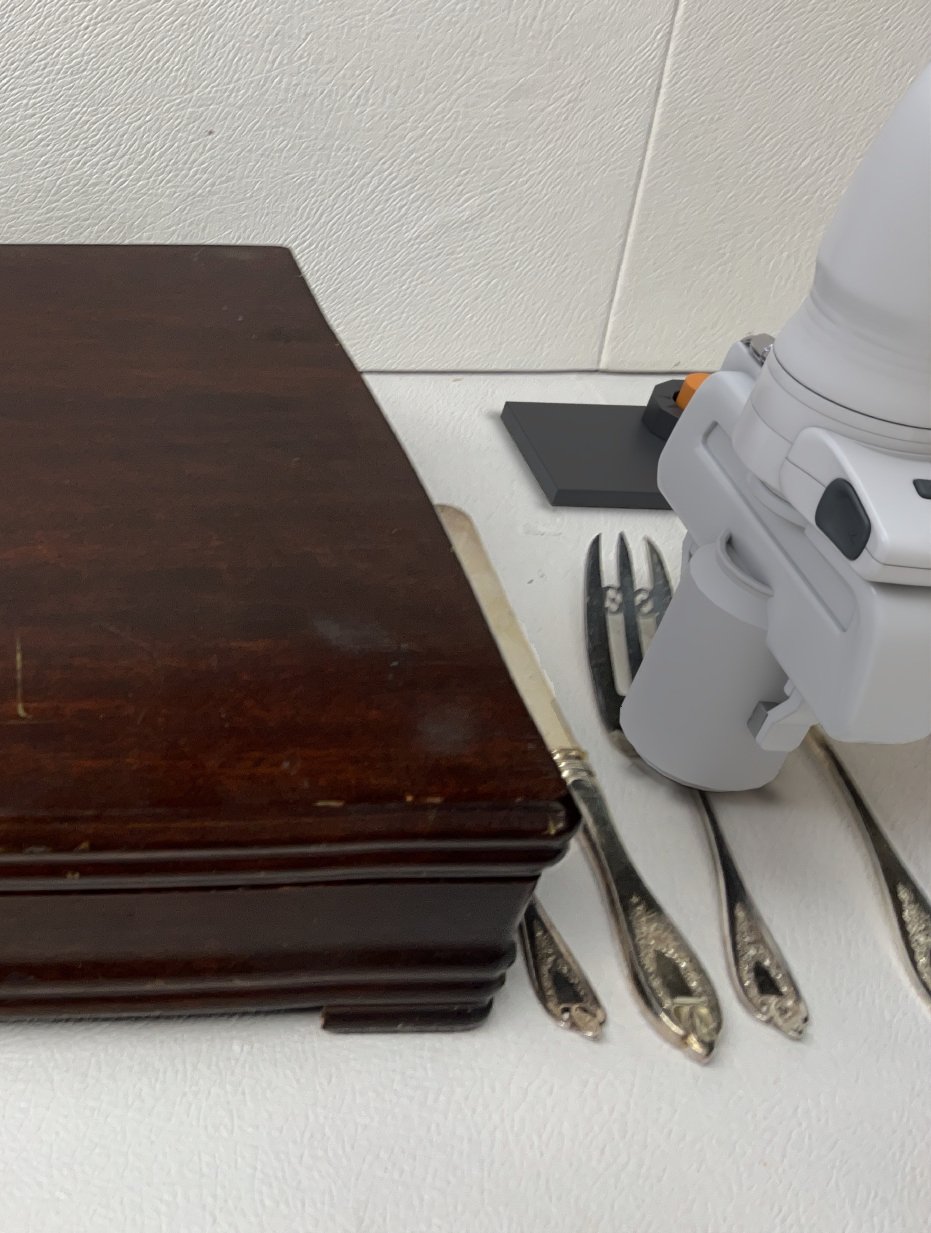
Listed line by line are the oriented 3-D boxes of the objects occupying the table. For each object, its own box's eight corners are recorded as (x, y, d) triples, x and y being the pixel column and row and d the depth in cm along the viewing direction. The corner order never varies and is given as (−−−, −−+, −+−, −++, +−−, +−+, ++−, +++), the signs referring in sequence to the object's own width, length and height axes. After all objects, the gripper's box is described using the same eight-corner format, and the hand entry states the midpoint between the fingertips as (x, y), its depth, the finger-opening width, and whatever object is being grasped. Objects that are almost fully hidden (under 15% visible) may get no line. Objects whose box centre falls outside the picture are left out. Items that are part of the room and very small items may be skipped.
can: (763, 826, 75) (878, 631, 67) (599, 764, 78) (691, 570, 70) (783, 735, 80) (892, 544, 72) (628, 680, 83) (716, 491, 75)
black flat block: (711, 420, 103) (729, 380, 101) (783, 513, 95) (804, 471, 93) (498, 413, 103) (512, 373, 101) (551, 505, 95) (567, 463, 93)
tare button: (712, 396, 100) (722, 372, 99) (730, 420, 98) (742, 396, 97) (668, 395, 100) (678, 371, 99) (686, 419, 98) (696, 394, 97)
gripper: (684, 312, 75) (586, 546, 84) (905, 576, 59) (755, 830, 68) (816, 317, 75) (704, 550, 84) (1072, 582, 59) (901, 835, 68)
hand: (729, 678), depth 76 cm, fingers closed on can, 7 cm apart
